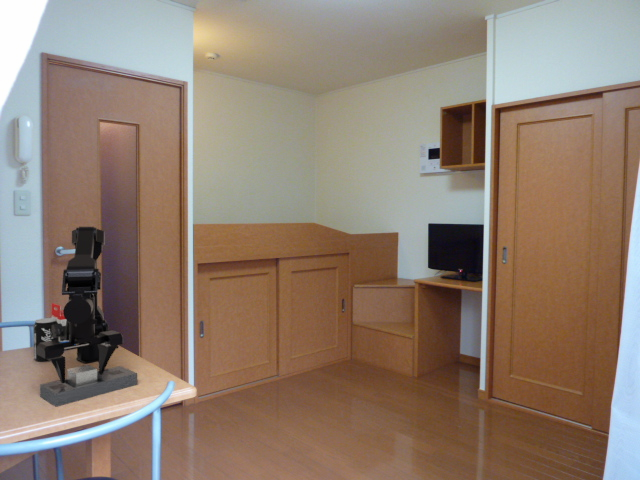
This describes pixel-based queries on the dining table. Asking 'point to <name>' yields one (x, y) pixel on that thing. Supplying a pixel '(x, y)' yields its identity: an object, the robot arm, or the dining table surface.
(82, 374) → the block
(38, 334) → the beverage can
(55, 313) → the ink box
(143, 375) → the dining table surface
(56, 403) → the grey slotted board
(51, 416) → the dining table surface
